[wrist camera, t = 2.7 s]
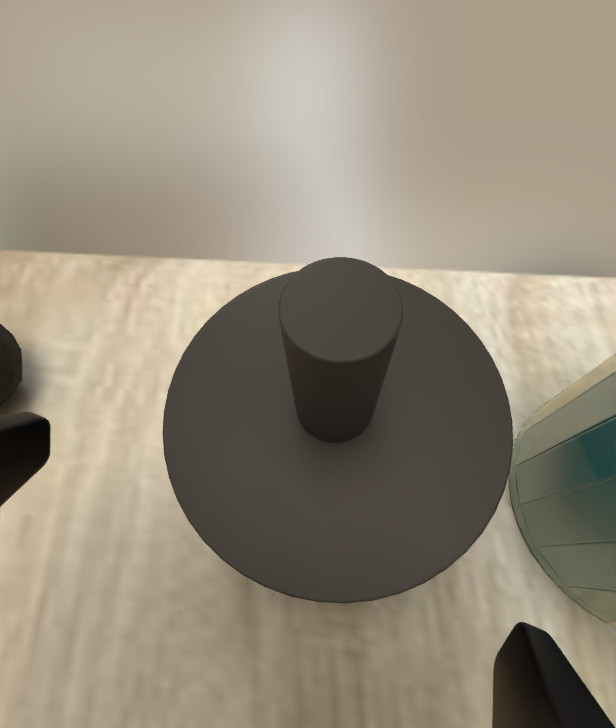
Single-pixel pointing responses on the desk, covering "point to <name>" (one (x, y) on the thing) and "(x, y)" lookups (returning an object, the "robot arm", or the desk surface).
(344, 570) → the lid
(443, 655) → the desk surface
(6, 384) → the microphone
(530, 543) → the teal cup
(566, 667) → the robot arm
